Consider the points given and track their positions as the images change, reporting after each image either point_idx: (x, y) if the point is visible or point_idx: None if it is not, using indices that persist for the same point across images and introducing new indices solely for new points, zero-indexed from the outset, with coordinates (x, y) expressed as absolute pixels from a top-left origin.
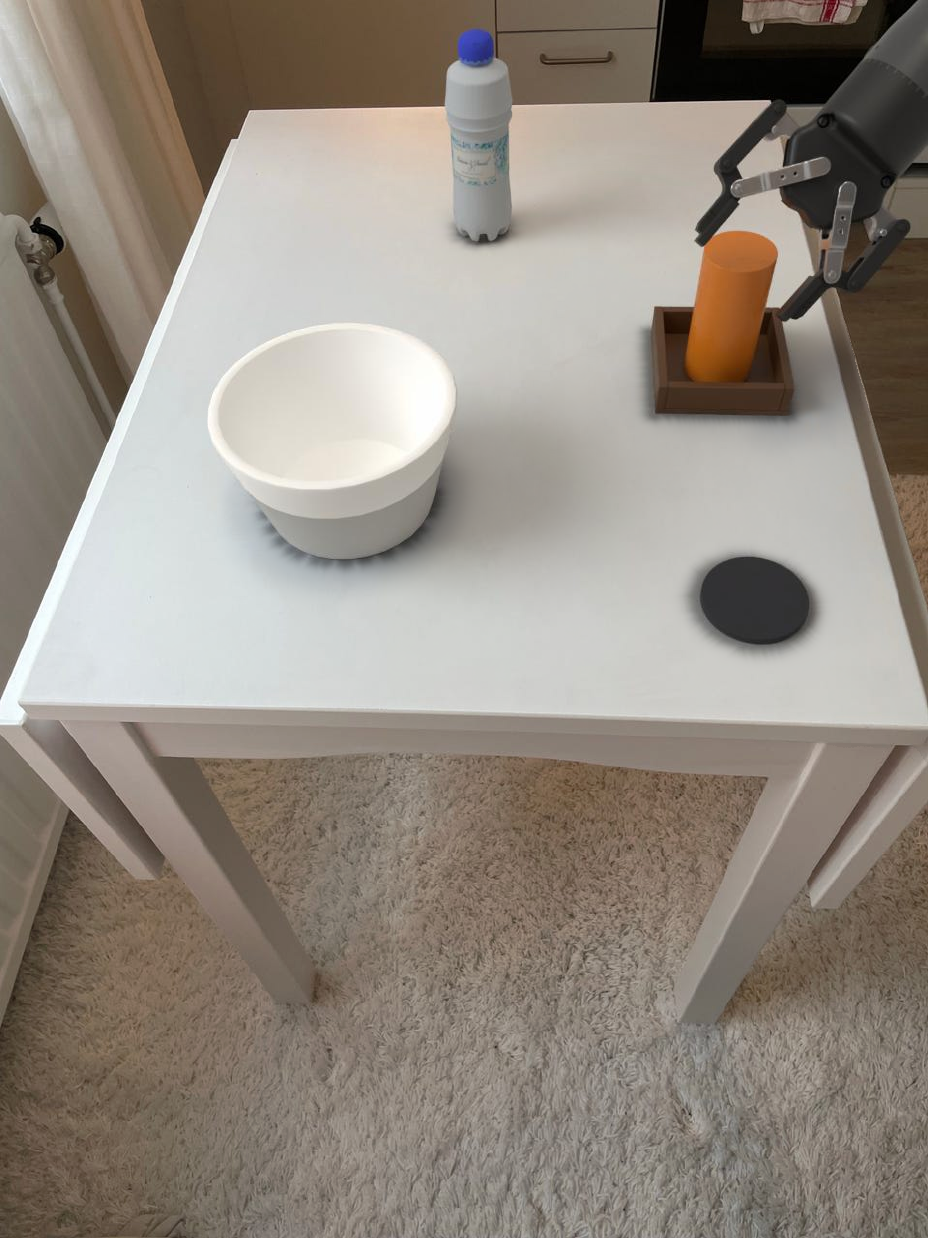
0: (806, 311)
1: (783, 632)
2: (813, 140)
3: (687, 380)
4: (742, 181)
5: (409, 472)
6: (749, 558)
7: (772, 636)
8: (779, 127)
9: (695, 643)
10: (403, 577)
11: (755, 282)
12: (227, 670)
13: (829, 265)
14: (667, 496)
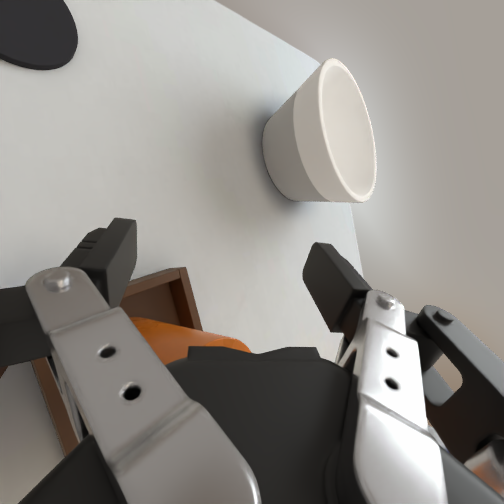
0: (84, 237)
1: None
2: None
3: (154, 318)
4: (397, 312)
5: (314, 75)
6: (28, 59)
7: None
8: None
9: None
10: (257, 100)
11: (175, 356)
12: (289, 58)
13: (81, 292)
14: (134, 164)
